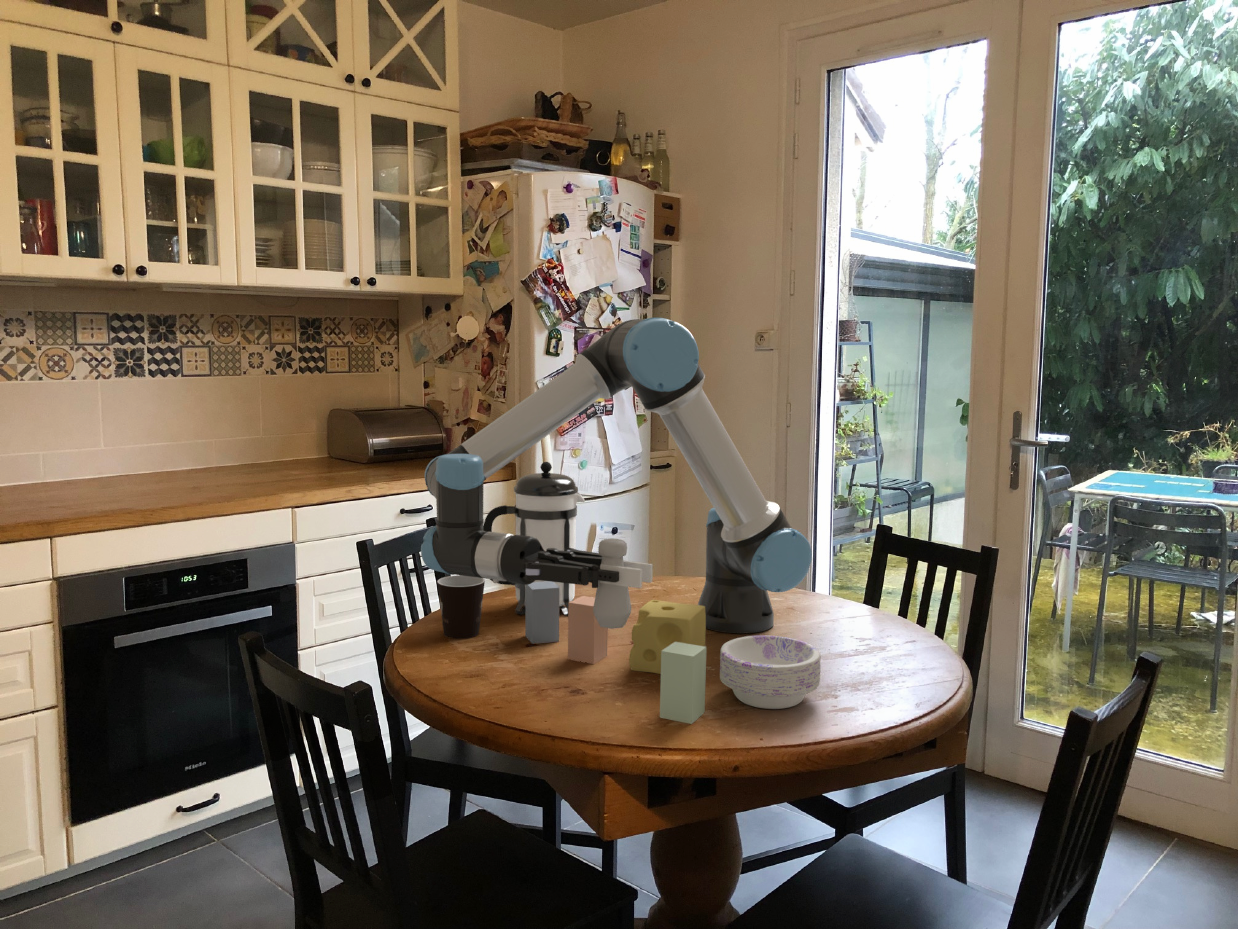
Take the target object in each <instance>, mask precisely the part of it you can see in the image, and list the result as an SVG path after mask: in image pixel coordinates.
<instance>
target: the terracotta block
mask: <svg viewBox="0 0 1238 929" xmlns="http://www.w3.org/2000/svg"><path fill="white" fill-rule="evenodd" d="M594 602H595V596H594V597H593V596H587V595H581V596H580V597H579V596H578V597H577V598H575V599H573V601H571V602H569V608H568V615H567V618H568V622H567V623H568V625H567V626H568V627H567V630H568V632H567V634H568V635H567V660H569V659H571V660H570V661H575V662H580V661H581V663H585V662H587V663H586V664H591V665H595V664H596V663H598V662H600V661H602V660H603V659H605V658H606V657H608V645H609V644H608V638H609V636H608V635H609V633H608V632H609V631H608V629H609V628H603V627H600V625H599V624H598V621H597V619H596V617H595V615H594V613H593V607H594Z"/></svg>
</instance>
